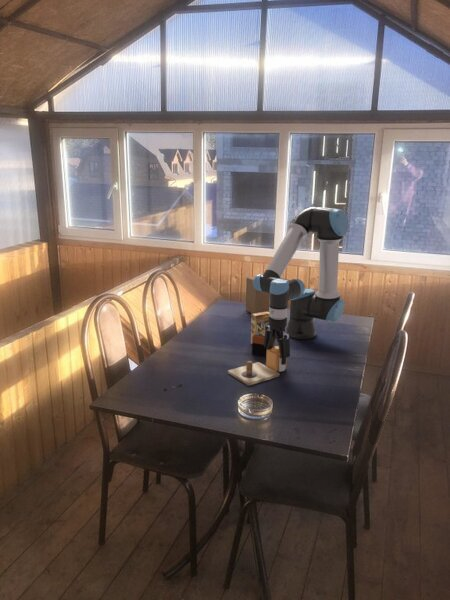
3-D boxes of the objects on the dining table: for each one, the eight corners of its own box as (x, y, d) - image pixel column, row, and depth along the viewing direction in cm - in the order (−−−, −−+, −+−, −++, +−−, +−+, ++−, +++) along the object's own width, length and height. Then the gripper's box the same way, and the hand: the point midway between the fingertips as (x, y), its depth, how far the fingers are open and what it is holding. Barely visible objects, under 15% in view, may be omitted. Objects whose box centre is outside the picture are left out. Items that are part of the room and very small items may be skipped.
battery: (265, 356, 224) (266, 336, 221) (251, 354, 227) (252, 333, 224) (268, 353, 228) (269, 333, 225) (255, 350, 230) (255, 330, 228)
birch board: (258, 364, 216) (258, 350, 214) (279, 376, 205) (279, 361, 203) (228, 373, 207) (228, 358, 205) (248, 385, 196) (248, 370, 194)
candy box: (254, 346, 236) (255, 315, 231) (250, 343, 239) (251, 313, 235) (270, 343, 239) (271, 313, 235) (266, 340, 243) (267, 310, 239)
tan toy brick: (276, 364, 216) (277, 344, 214) (285, 368, 212) (286, 348, 209) (266, 367, 213) (266, 347, 210) (274, 372, 208) (275, 351, 206)
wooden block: (269, 312, 285) (270, 278, 279) (254, 315, 280) (255, 281, 274) (259, 307, 293) (260, 275, 287) (245, 310, 288) (246, 277, 283)
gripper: (256, 311, 212) (254, 361, 218) (287, 325, 196) (284, 378, 202) (269, 309, 216) (267, 357, 222) (301, 322, 200) (298, 374, 206)
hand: (275, 367), depth 212 cm, fingers open, 7 cm apart
